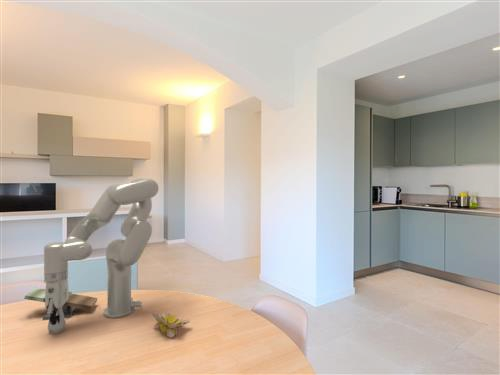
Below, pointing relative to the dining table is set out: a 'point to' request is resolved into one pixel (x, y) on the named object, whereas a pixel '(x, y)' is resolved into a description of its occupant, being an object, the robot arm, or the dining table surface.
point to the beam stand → (67, 312)
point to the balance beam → (72, 301)
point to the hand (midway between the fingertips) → (56, 322)
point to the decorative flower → (168, 323)
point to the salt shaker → (58, 326)
